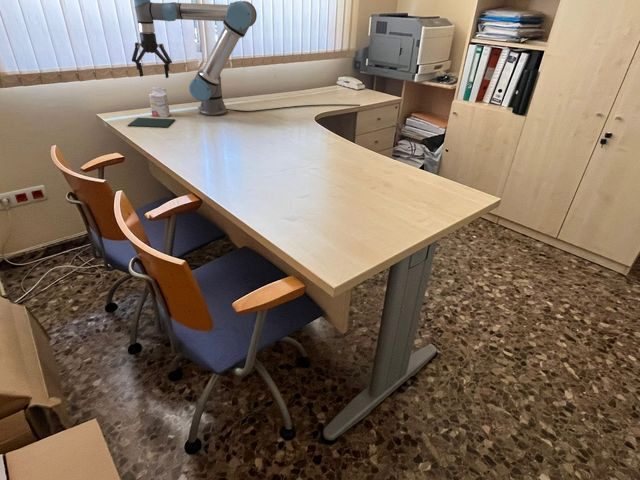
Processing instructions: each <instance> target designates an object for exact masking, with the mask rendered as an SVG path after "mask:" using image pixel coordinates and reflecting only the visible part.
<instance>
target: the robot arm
mask: <svg viewBox="0 0 640 480" xmlns="http://www.w3.org/2000/svg"><path fill="white" fill-rule="evenodd" d="M133 2H134V3H133V4H134V10H135V15H136V20H137V27H138V32H139V38H140V42H138V41H136V42H135V43H134V50H133V54H132V57H131V61H132V63H135V67H136V70H138V73H139V77H140V78H142V77H144V72H143V66H142V62H141V60H142V59H143V57H144V55H145V54H149V53H151V54H155V55H156V56H157V57H158V58H159V59H160V60H161V62H162V63H164V64H163V68H164V75H165V79H168V78H169V77H170V76H169V72H170V64H172V63H173V60H172V59H171V58H170V55H169V54H168V52H167V51H166V49H165V47H164V43H158V41H157V36H156V33H155V32H156V30H155V24H154V23H155V22H154V21H164V22H175V21H176V20H181V21H182V20H183V21H184V20H185V21H186V20H187V21H207V22H208V21H209V22H222V24H223V28H222V30H221V32H220V35H219V37H218V39H217V41H216V43H215V44H214V47H213V48H212V50H211V52H210V54H209V56H208V58H207V60H206V61H205V64H204V66H203V68H199V69H198V70H197V73H196V75H195V77H194V78H193V79H192V80H191V81H190V83H189V85H188V90H189V93H190V96H192V98H194V99H195V100H196V101H198V102H200V106H197V109H199V113H200V114H201V115H202V116H203V115H204V116H213V117H215V116H222V115H225V114H227V111H231V112H243V113H254V112H262V111H272V110H281V109H290V108H302V107H320V106H346V107H347V106H348V107H349V106H350V107H351V106H354V107H356V106H358V107H360V106H361V104H353V103H352V104H349V103H348V104H346V103H345V104H342V103H340V104H339V103H338V104H337V103H335V104H333V103H331V104H330V103H329V104H327V103H326V104H325V103H324V104H304V105H291V106H281V107H273V108H272V107H271V108H261V109H254V110H243V109H242V110H241V109H232V108H227V107H226V104H225V102H224V98H223V90H222V77H221V74H222V72H223V69H224V68H225V66H226V64H227V62H228V60H229V58H230V57H231V55H232V53H233V51H234V49H235V47H236V46H237V44H238V42H239V40H240V39H242V38H244V37H245V36H246V34H247V32H248V30H249V29H250V27H252V26H253V25H254V24H255V23H256V21H257V18H258V15H257V13H258V12H257V9H256V8H255V6H254V5H253V3H251V2H250V1H246V0H237V1H233V2H230V3H229V4H221V3H219V4H218V3H194V2H191V3H189V2H177V1H173V2H153V1H151V0H133ZM140 48H142V50H141V51H140V52H139V50H140ZM158 48H159V49H160V50H159V49H158ZM160 51H161V52H160ZM139 53H140V54H139ZM138 54H139V55H138Z"/></svg>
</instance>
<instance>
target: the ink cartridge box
mask: <svg viewBox="0 0 640 480" xmlns="http://www.w3.org/2000/svg"><path fill="white" fill-rule="evenodd" d="M151 91H152V92H151V93H149V94H148V97H149V104H150V110H151V115H152V117H158V118H168V117H169V116H170V115H171V111H170V104H169V98H168V93H167V89H166V88H165V87H154V86H152V87H151Z"/></svg>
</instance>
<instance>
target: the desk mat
mask: <svg viewBox="0 0 640 480" xmlns="http://www.w3.org/2000/svg"><path fill="white" fill-rule="evenodd" d="M175 121H176V119H175V118H158V117H157V118H155V117H154V118H153V117H137V118H136V119H134V120H133V121H131V122H130V123H129V124H128V125H127V127H139V128H142V127H143V128H159V129H160V128H161V129H162V128H164V129H167V128H169V127H170V126H171V125H172V124H173V123H174V122H175Z"/></svg>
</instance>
